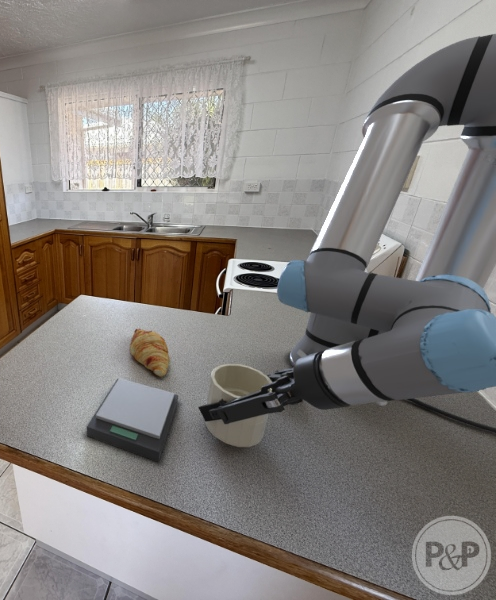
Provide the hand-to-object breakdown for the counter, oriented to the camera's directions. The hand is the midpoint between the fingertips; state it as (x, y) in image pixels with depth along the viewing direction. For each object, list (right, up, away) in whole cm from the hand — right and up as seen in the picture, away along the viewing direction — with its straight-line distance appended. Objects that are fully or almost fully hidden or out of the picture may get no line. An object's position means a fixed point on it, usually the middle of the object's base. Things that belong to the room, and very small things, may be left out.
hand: (222, 401), depth 60 cm
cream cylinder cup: (+2, -5, -1) cm, 5 cm away
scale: (-16, -5, +4) cm, 17 cm away
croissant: (-10, +4, +24) cm, 27 cm away
